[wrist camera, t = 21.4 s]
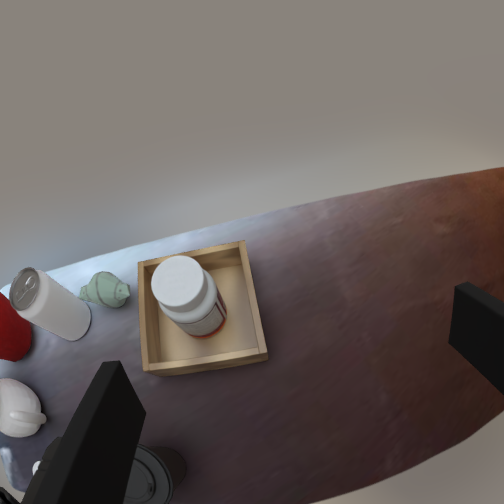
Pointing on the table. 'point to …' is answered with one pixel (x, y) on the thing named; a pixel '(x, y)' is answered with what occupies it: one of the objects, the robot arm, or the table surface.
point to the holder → (220, 345)
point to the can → (49, 304)
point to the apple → (13, 332)
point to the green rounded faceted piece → (105, 290)
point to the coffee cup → (154, 475)
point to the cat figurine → (19, 409)
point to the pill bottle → (189, 297)
